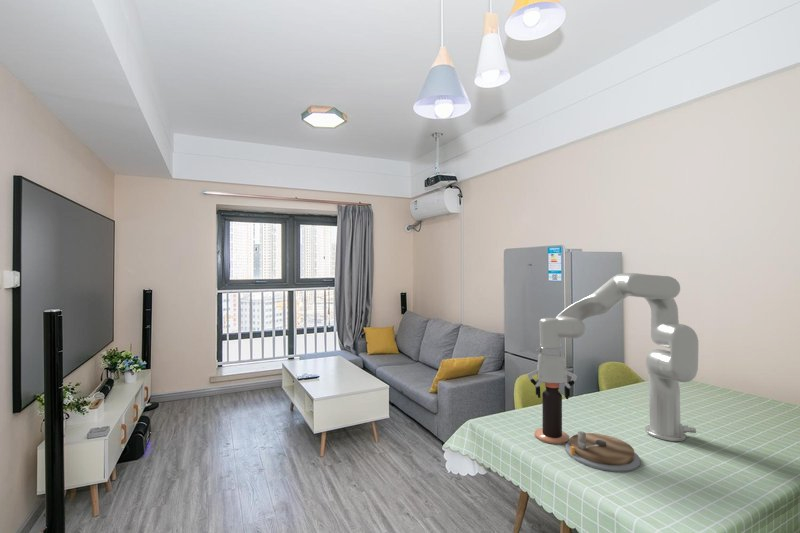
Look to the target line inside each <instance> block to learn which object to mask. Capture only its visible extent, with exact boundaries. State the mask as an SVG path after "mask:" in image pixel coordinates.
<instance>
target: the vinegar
mask: <svg viewBox="0 0 800 533" xmlns="http://www.w3.org/2000/svg"><path fill="white" fill-rule="evenodd" d="M544 386H545V389H544V390H543V391H542V428H543V434H544V435H545V436H548V437H551V438H559V437H561V436H562V431H563V395H562V393H561V392H560V391H559V389H560V384H556V383H544Z"/></svg>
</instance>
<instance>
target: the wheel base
mask: <svg viewBox="0 0 800 533" xmlns="http://www.w3.org/2000/svg"><path fill="white" fill-rule="evenodd" d="M565 452H566V454H567V455H568V457H570V458H571V459H573V460H574V461H575V462H578V463H579V464H582V465H584V466H586V467H590V468H593V469H597V470H601V471H604V472H605V471H607V472H614V473H615V472H616V473H617V472H618V473H624V472H632V471H635V470H636V469H637V470H638V468H639V467H640V466H641V459H640V457H639V455H638V454H637V453H636V452H635V451H634V461H633V462H631V463H629V464H625V465H608V464H602V463H597V462H594V461H590V460H588V459H585V458H583V457H581V456H579V455H577V454H576V453H575V447H573V446H570V440H569V441H568V442H567V443H565Z"/></svg>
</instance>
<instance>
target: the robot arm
mask: <svg viewBox="0 0 800 533" xmlns="http://www.w3.org/2000/svg"><path fill="white" fill-rule="evenodd" d="M680 292H681V285H680V283H679V281H678V280H677V279H676V278H675V277H672V276H668V275H656V274H645V273H633V272H631V273H630V272H629V273H628V272H627V273H626V272H623V273H617V274H616V275H614V276H612V277H611V278H610V279H608V280H607V281H606V282H605V283H603V285H601V286H600V287H598V289H596V290H595V291H593V293H591V294H589V295H588V296H585V297H583V298H581V299H579V301H576V302H574V303H572V304H571V305H569V306H568V307H566V308H565V309H564V310H562V311H561V312H560V313H559V314H557V315H556V317H555V318H554V317H542V318H541V319H540V320H539V322H538V323H539V324H538V326H539V327H538V328H539V346H538V347H535V351H536V352H538V355H537V363H536V364H537V365H536V369H534V370H533V371H530V372H528V373H527V375H526V376H527V377H528V379H529V381H530V382H531V383H532V384H533V385H534V386H535V395H536V396H537V397H538V399H540V398H541V386H540V385H541V384H545V383H556V384H559V385H562V384H564V387H563V388H564V389H563V390H564V392H563V393H564V398H565V399H566V400H569V397H570V394H571V393H570V390H571V387H572V386H573V385H574V384H575V383H576V381H577V378H578V376H577V375H576V374H575V373H572V372H571V371H568V370H567V369H568V368H567V362H566V358H565V355H563V348H562V347H563V346H562V338H566V339H567V338H568V339H579V338H581V337H583V336H584V335H585V333H586V329H587V328H586V325H585V323H584V322H583V321H584V320H585V319H588V318H591V317H595V316H601V315H603V314H607V313H609V312H610V311H611V310H612V309H614V308H615V307H616V306H617V305H619V304H620V303H621V302H622V301H624V299H626V298H628V297H634V298H635V297H636V298H644V299H645V300H646V302H647V303H648V305H649V308H650V316H651V317H650V337H651V341H652V342H653V343H654V344H656V345H657V346H661V347H664V348H668V349H670V350H666V349H661V348H660V349H659V348H658V349H653V350H651V351H649V352H648V354H647V355H646V357H645V358H646V359H645V368H646V372H647V375H648V376H647V377H648V385H649V386H648V387H649V390H648V391H649V392H648V393H649V424H648V425H646V426H645V427H644V430H645V432H646V434H648V435H649V436H651V437H654V438H656V439H659V440H664V441H668V442H669V441H671V442H682V441H685V440H686V439H687V435H686V434H687V433H690V434H696V433H697V429H696V427H692V426H691V427H690V426H689V425H688V424H687V425H685V424H684V425H683V424H682V423H681V392H680V391H681V390H680V388H681V387H680V385H679V382H680V383H689V382H691V381H693V380H694V379H695V378H696V377H697V374H698V370H699V338H698V334H697V332H695V329H693V328H692V327H691V326H689V325H686V324H683V323H680V322H679V308H678V305H677V302H676V300H675V298H676V297H678V296H679V294H680ZM536 375H537V376H536ZM534 376H536V377H537V379H536V380H535V379H534V378H533V377H534ZM568 376H569V377H571V378H570V380H569V381H568Z"/></svg>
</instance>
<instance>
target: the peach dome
mask: <svg viewBox="0 0 800 533" xmlns="http://www.w3.org/2000/svg"><path fill="white" fill-rule="evenodd" d="M534 437H535V438H536V439H537V440H538V441H541V442H543V443H546V444H549V445H550V444H551V445H564V444H565V445H566V443H567V442H568V441H570V435H569V434H568V433H567V432H565V431H563V430H562V436H561V437H559V438H551V437H548V436H545V435H544V434H543V427H541V428H536V429H535V430H534Z"/></svg>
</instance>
